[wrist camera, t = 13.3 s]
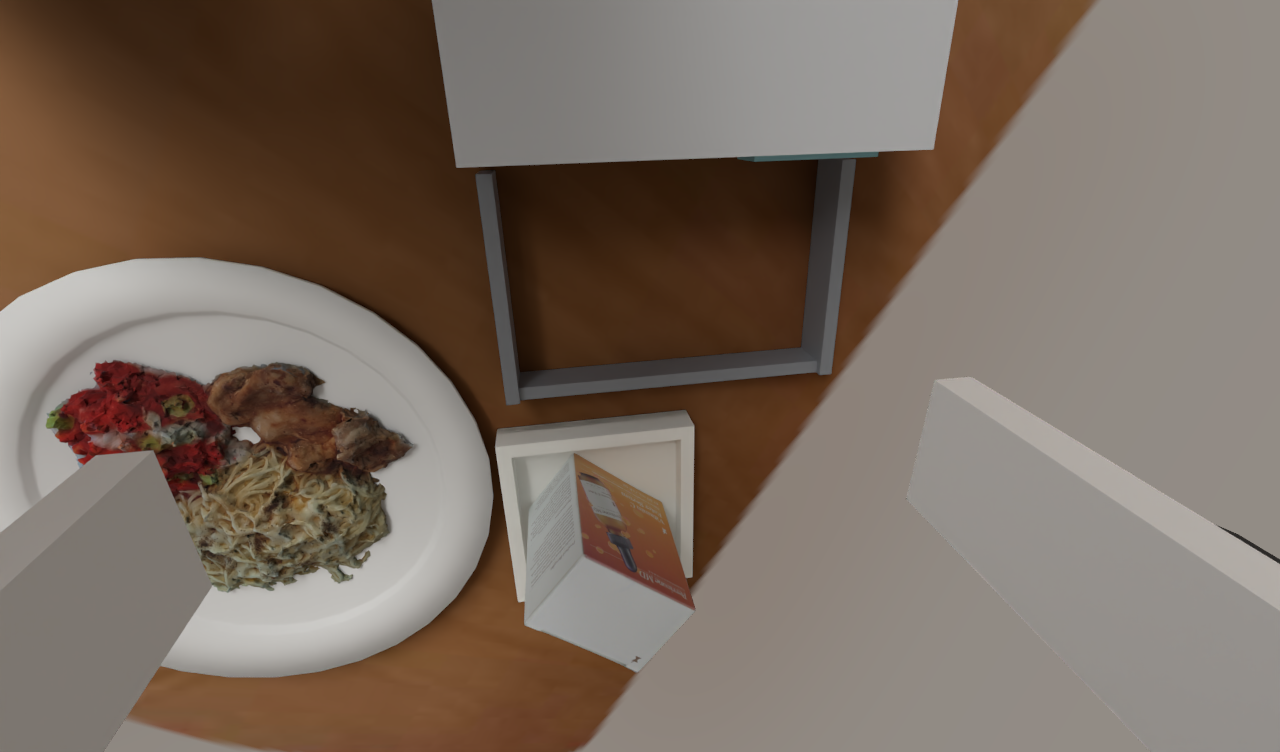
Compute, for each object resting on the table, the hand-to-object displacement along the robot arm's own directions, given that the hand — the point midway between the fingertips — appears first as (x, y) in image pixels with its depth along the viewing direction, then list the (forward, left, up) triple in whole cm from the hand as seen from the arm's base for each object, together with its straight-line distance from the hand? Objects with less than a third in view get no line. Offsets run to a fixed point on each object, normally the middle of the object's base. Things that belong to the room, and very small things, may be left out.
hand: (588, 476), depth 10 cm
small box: (+1, -19, -25) cm, 32 cm away
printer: (+7, +2, -26) cm, 27 cm away
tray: (+2, -19, -26) cm, 32 cm away
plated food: (-20, -15, -26) cm, 36 cm away
